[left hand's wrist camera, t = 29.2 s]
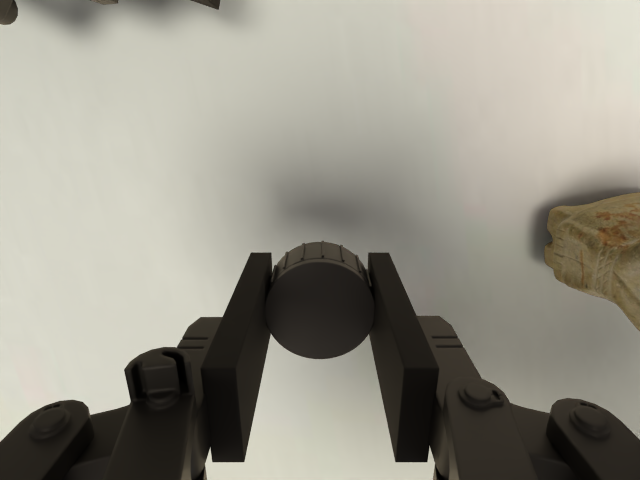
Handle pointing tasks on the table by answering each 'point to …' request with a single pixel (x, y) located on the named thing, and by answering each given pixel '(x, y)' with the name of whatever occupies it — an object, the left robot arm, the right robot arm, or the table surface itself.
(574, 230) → the sculpture
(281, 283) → the cap
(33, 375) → the table surface
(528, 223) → the table surface
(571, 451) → the left robot arm
